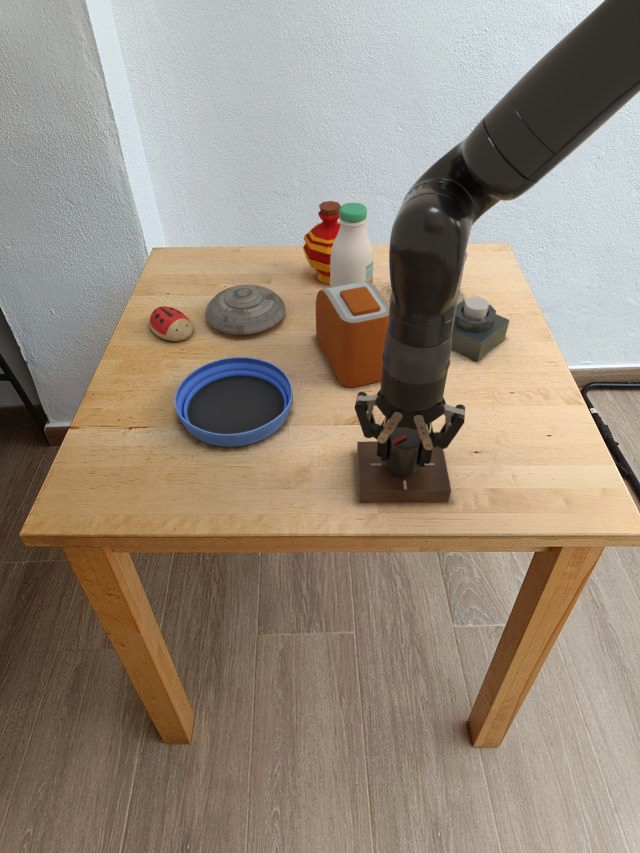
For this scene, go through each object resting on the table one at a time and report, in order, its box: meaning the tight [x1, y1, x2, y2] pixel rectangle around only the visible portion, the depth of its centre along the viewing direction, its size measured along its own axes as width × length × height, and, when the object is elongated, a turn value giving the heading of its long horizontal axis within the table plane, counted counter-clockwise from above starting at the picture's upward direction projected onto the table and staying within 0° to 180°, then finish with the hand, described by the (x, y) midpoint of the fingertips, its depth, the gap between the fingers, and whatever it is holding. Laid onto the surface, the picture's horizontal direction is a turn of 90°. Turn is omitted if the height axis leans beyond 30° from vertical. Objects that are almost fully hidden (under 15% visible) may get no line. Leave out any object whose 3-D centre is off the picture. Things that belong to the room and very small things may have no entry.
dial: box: [386, 427, 422, 477], centre depth 78 cm, size 4×4×6 cm
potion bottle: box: [302, 200, 342, 285], centre depth 114 cm, size 10×10×15 cm
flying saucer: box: [204, 284, 287, 336], centre depth 108 cm, size 15×15×6 cm
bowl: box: [173, 356, 294, 448], centre depth 90 cm, size 18×18×4 cm
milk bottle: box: [329, 202, 374, 288], centre depth 104 cm, size 8×8×20 cm
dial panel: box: [356, 441, 452, 503], centre depth 80 cm, size 12×9×3 cm
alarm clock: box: [315, 281, 390, 388], centre depth 95 cm, size 15×8×14 cm, turn 18°
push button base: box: [451, 300, 510, 363], centre depth 101 cm, size 9×9×6 cm
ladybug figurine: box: [149, 305, 194, 342], centre depth 106 cm, size 7×10×4 cm
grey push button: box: [463, 296, 490, 319], centre depth 99 cm, size 4×4×2 cm
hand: (403, 458), depth 79 cm, fingers closed on dial, 4 cm apart
